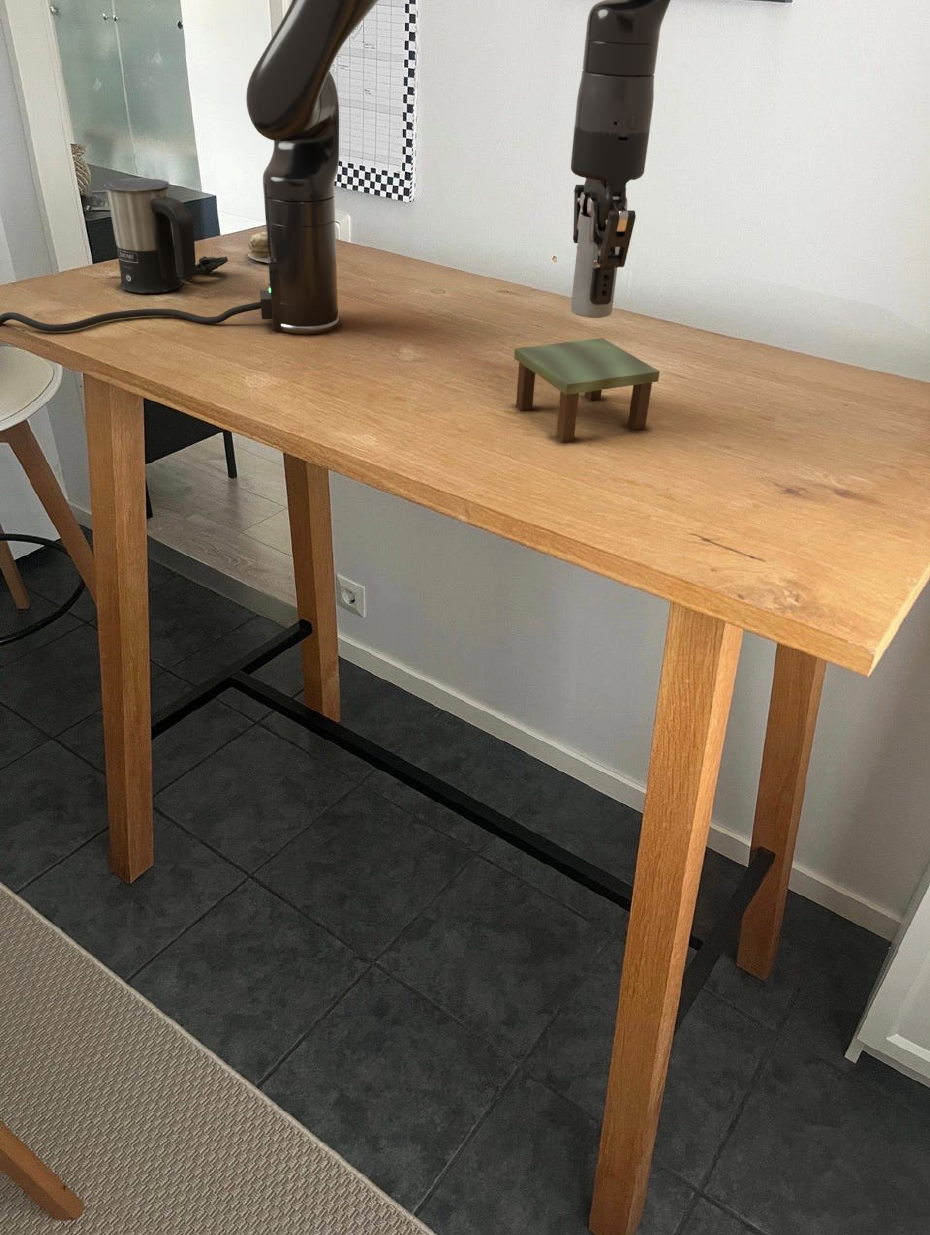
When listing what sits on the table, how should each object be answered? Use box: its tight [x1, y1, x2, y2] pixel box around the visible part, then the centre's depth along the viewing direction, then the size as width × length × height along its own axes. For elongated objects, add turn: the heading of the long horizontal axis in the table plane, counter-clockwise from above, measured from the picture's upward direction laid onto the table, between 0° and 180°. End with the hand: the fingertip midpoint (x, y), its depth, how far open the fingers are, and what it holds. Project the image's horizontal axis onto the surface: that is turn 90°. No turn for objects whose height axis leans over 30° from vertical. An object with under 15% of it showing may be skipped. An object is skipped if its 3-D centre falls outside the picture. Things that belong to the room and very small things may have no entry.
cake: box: [246, 231, 268, 264], centre depth 167 cm, size 10×10×5 cm
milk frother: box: [103, 177, 229, 294], centre depth 150 cm, size 14×16×15 cm
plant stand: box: [513, 337, 661, 443], centre depth 114 cm, size 12×12×7 cm
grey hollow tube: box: [570, 211, 620, 319], centre depth 106 cm, size 4×4×10 cm
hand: (592, 295), depth 108 cm, fingers closed on grey hollow tube, 4 cm apart
